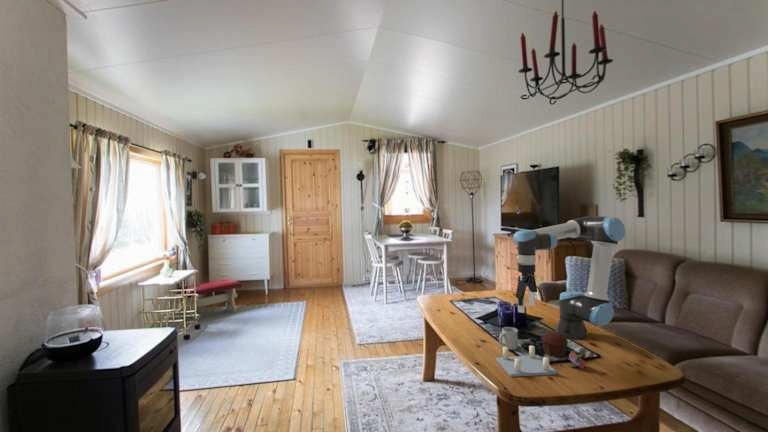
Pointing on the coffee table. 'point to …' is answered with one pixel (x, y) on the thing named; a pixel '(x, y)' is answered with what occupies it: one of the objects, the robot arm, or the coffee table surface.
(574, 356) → the geometric puzzle
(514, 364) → the peg board
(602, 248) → the robot arm
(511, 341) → the cup
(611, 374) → the coffee table surface
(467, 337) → the coffee table surface
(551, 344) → the muffin
